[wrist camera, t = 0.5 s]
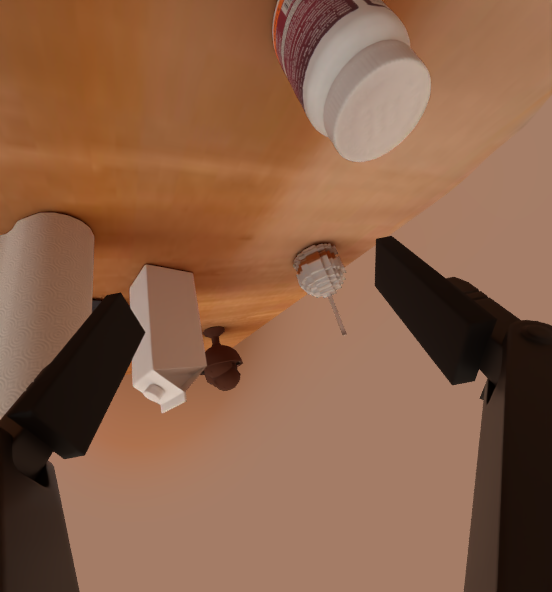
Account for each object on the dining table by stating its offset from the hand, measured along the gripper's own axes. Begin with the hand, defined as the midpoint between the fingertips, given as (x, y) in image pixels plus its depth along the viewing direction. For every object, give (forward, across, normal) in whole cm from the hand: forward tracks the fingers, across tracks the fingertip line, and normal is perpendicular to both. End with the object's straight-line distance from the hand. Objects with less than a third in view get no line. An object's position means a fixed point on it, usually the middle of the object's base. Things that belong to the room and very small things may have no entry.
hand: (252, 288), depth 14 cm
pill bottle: (+14, +7, +12) cm, 20 cm away
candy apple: (+30, +8, -14) cm, 34 cm away
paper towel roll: (+18, -21, +2) cm, 27 cm away
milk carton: (+26, -17, -10) cm, 32 cm away
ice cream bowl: (+40, -18, -34) cm, 55 cm away
